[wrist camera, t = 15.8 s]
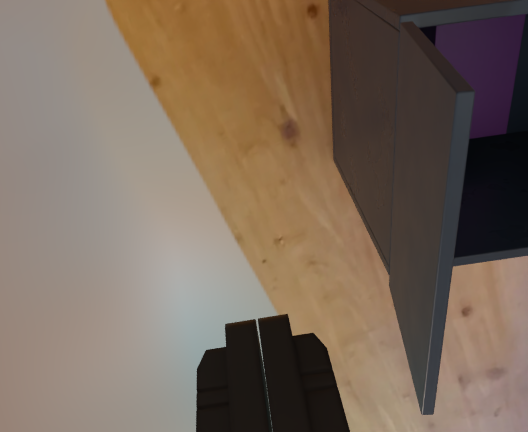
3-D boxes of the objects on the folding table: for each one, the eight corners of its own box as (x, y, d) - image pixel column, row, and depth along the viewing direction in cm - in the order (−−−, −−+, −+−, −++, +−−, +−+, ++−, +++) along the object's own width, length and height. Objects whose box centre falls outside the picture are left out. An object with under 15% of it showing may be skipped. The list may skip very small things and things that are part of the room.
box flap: (398, 285, 22) (388, 285, 22) (413, 20, 16) (400, 21, 16) (433, 415, 16) (421, 415, 16) (476, 90, 10) (456, 92, 10)
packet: (481, 114, 31) (506, 133, 28) (409, 124, 31) (427, 145, 28) (498, -10, 27) (528, 0, 24) (415, 1, 27) (437, 13, 24)
